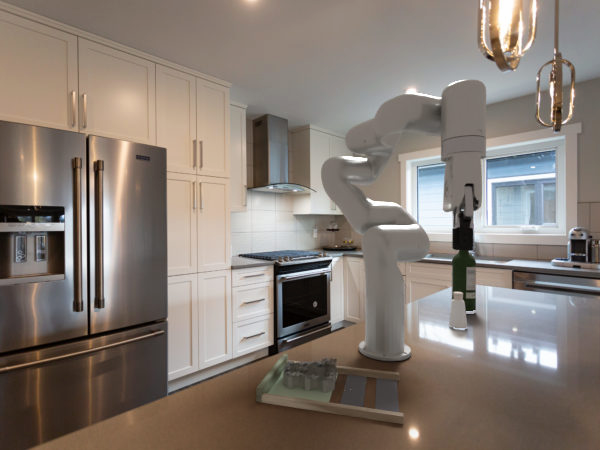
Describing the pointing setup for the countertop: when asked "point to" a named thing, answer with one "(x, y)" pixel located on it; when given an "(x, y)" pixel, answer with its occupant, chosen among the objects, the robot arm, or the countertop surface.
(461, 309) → the salt shaker
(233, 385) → the countertop surface
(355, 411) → the channel
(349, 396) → the strips
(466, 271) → the wine bottle
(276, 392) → the pad
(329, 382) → the egg carton
